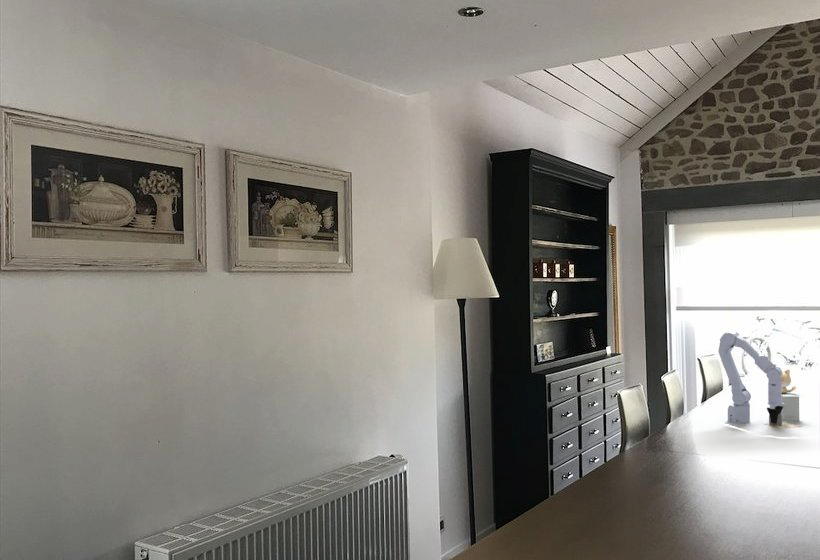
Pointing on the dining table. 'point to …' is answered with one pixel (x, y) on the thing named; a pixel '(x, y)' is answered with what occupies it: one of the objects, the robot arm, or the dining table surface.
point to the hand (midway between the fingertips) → (775, 422)
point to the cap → (779, 420)
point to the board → (783, 425)
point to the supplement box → (790, 408)
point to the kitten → (786, 381)
